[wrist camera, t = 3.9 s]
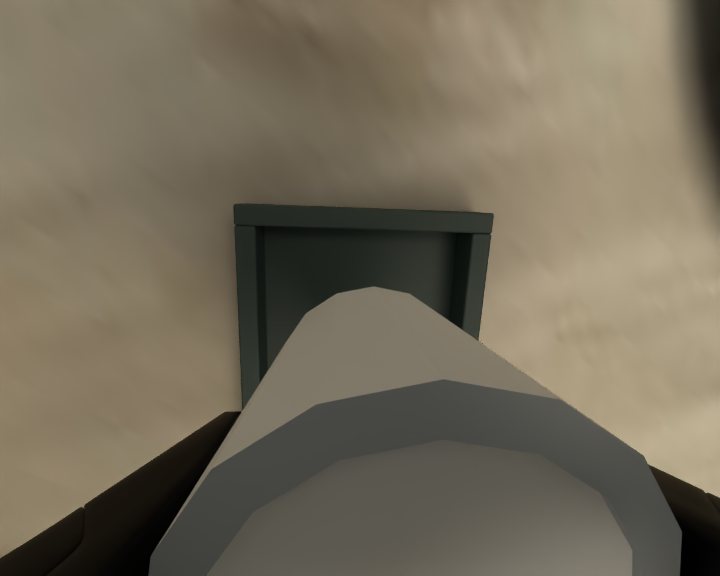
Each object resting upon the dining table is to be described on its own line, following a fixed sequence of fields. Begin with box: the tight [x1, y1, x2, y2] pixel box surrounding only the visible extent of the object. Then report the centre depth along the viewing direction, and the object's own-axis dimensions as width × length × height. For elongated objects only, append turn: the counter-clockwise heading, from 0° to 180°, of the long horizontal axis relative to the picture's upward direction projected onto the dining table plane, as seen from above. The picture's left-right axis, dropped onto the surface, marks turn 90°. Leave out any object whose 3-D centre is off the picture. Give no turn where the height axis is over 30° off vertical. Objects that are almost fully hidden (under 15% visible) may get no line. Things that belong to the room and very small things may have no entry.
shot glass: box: [149, 286, 682, 576], centre depth 8 cm, size 7×7×7 cm
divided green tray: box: [234, 204, 494, 411], centre depth 17 cm, size 19×10×2 cm, turn 178°
